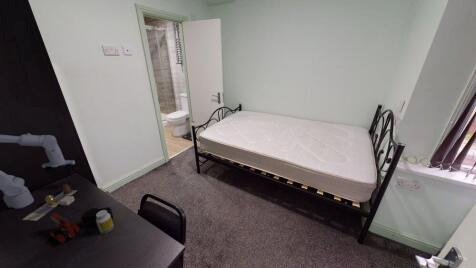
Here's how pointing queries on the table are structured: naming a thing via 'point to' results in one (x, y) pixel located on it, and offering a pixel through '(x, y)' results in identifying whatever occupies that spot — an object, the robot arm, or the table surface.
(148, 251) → the table surface
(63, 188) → the pawn
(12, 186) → the robot arm
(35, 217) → the board
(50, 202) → the pawn
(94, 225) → the digital camera
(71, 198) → the die
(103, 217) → the supplement bottle
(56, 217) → the toy fire truck
